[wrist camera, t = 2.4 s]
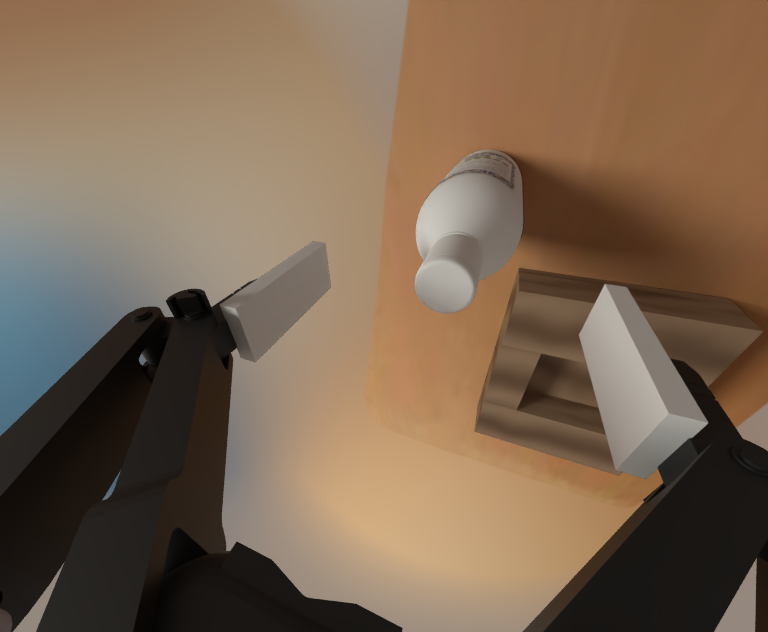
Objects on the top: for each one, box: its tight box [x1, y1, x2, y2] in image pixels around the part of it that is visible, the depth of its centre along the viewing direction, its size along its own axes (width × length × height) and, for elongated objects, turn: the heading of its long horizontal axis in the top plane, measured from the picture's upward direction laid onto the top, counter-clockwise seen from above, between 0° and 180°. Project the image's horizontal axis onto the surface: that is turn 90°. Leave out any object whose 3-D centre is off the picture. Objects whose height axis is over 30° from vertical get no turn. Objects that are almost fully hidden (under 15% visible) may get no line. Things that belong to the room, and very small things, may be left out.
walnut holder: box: [474, 268, 764, 476], centre depth 34 cm, size 24×18×5 cm
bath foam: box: [415, 150, 524, 313], centre depth 21 cm, size 7×7×20 cm
